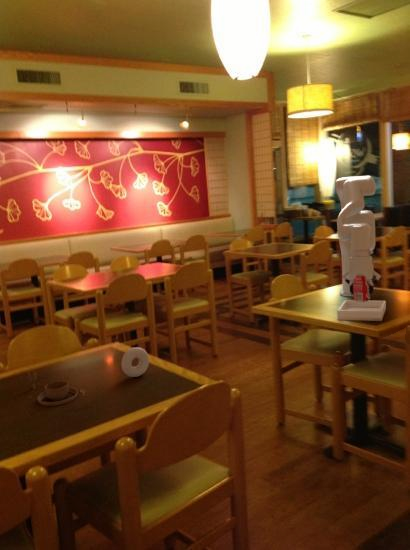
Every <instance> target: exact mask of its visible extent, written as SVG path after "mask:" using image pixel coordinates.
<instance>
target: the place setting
mask: <svg viewBox="0 0 410 550" xmlns="http://www.w3.org/2000/svg"><path fill="white" fill-rule="evenodd" d="M27 375H28V379H29V381H30V382H31V384H32V385H31V386H32V390H36V389H37V387H36V381H37V378H38V376H37V372H36V371H30V372H28V374H27ZM86 391H87V390H86V389H85V388H82V387H81V389H79V391H78V389H77V388H74V387H69V382H68V381H66V380H58V381H57V380H56V381H52V382H49V383H47V384H46V385H45V386H44V392H41V393H40V394H39V395H38V396H37V398H36V399H37V402H38V404H40V405H41V406H46V407H47V406H48V407H50V406H51V407H52V406H53V407H54V406H61V405H64V404H67V403H70V402H72V401H74V400H75V399H76V398H77V397H78V393H80V394H82V396H83V397H85V396H86V395H85V393H86ZM69 393H73V394H74V395H73V396H71V397H68V398H67V399H65V398H66V396H67V395H68V394H69ZM32 397H33V396H32V395H30V396H29V398H32ZM45 397H47V398H48V399H51V401H43V399H44V398H45Z"/></svg>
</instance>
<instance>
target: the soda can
mask: <svg viewBox="0 0 410 550" xmlns="http://www.w3.org/2000/svg"><path fill="white" fill-rule="evenodd" d="M369 286H370V283H369V280H368V279H367V278H366V277H365V275H356V277H355V278H354V280H353V296H352V298H353V300H355V301H356V302H368V301H369V300H371V295H370V290H369Z"/></svg>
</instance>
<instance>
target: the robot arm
mask: <svg viewBox="0 0 410 550" xmlns="http://www.w3.org/2000/svg"><path fill="white" fill-rule="evenodd" d="M334 185H335V192H336V195H337V196H338V199H339V202H340V209H341V211H340V212H339V214H338V216H337V220H336V225H337V228H336V230H337V235H338V238H339V240H338V241H339V248H340V252H341V253H340V254H341V255H340V256H341V271H342V272H341V273H342V276H341V278H342V290H341V291H340V292H339V295H340V296H342V297H352V298H353V280H354V278H355V277H356V275H365V277H366V278H367V279H368V280H369V283H370V286H369V290H370V296H371V295H372V294H373V293H374V285H375V284H376V283H377V282H378V281H379V280H380V279H381V277H382V276H381V275H380V274H379V273H378V272H377V271H375V270H374V261H373V256H371V255H373V254H374V249H375V247H376V218H375V214H374V212H373V211H372V210H370V209H369V210H367V209H364V208H365V206H366V204H365V199H364V198H365V197H364V196H374V195H375V193H376V189H377V186H376V185H377V183H376V181H375V178H373V176H371V175H356V176H344V177H339V178H338V179H336V180H335V184H334ZM374 277H375V278H374ZM373 278H374V280H373Z"/></svg>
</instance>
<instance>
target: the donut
mask: <svg viewBox="0 0 410 550" xmlns="http://www.w3.org/2000/svg"><path fill="white" fill-rule="evenodd" d="M135 358H138V364H137V365H136V366H133V365H132V364H133V363H132V362H133V360H134V359H135ZM149 364H150V358H149V354H148V353H147V351H146V350H145V349H144V348H142V347H140V346H139V347H137V346H136V347H131V348H129V349H128V350H127V351H125V352H124V354H123V356H122V359H121V370H122V371H123V372H124V374H125V375H127V376H128V377H130V378H135V377H136V378H137V377H139V376H141V375H143V374H144V373H145V372H146V371H147V370H148V368H149V366H150V365H149Z"/></svg>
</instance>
